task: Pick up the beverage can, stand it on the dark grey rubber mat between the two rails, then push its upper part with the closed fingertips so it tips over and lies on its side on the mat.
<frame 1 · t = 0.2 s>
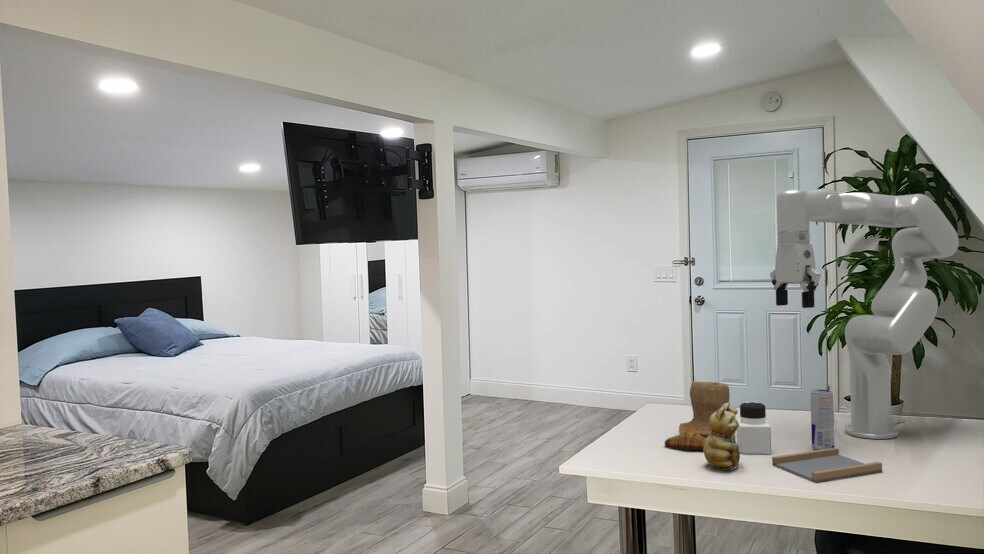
hand: (794, 306, 183), 36 cm above the table, tool pointing down, fingers open, 9 cm apart
beverage can: (823, 450, 178), on the table
croissant: (691, 450, 185), on the table
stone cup: (705, 435, 197), on the table
rail mat: (825, 468, 164), on the table
medicine bottle: (753, 451, 181), on the table
decorative figurine: (721, 467, 169), on the table
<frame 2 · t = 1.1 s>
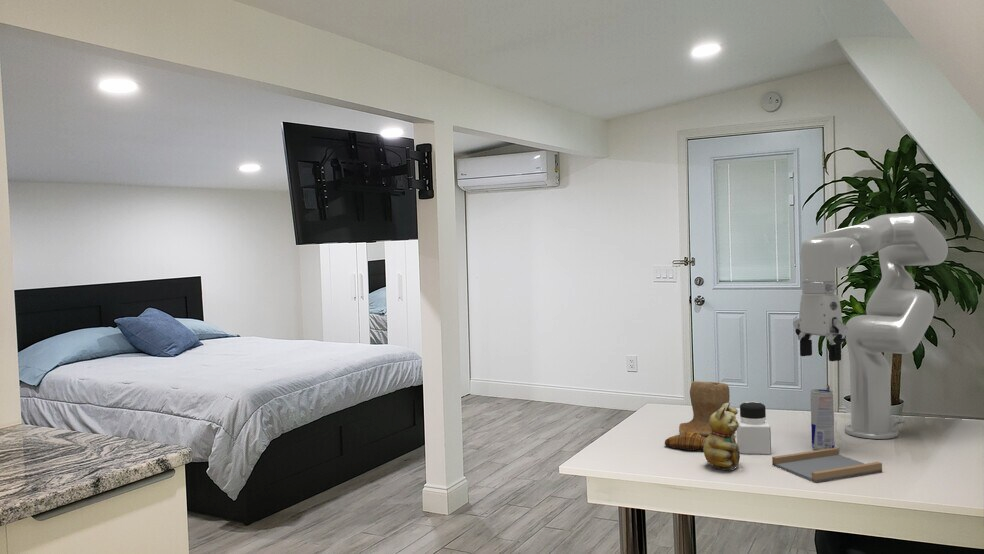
hand: (820, 358, 178), 23 cm above the table, tool pointing down, fingers open, 9 cm apart
nothing on the table moved.
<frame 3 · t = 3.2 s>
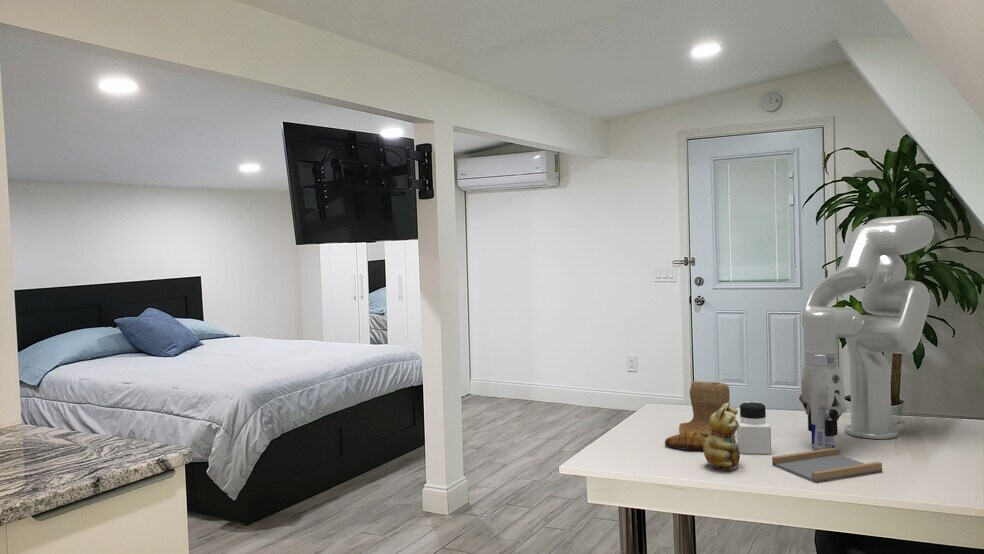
hand: (822, 432, 178), 4 cm above the table, tool pointing down, fingers closed on beverage can, 5 cm apart
beverage can: (823, 450, 178), on the table, touching gripper
everything else where it was.
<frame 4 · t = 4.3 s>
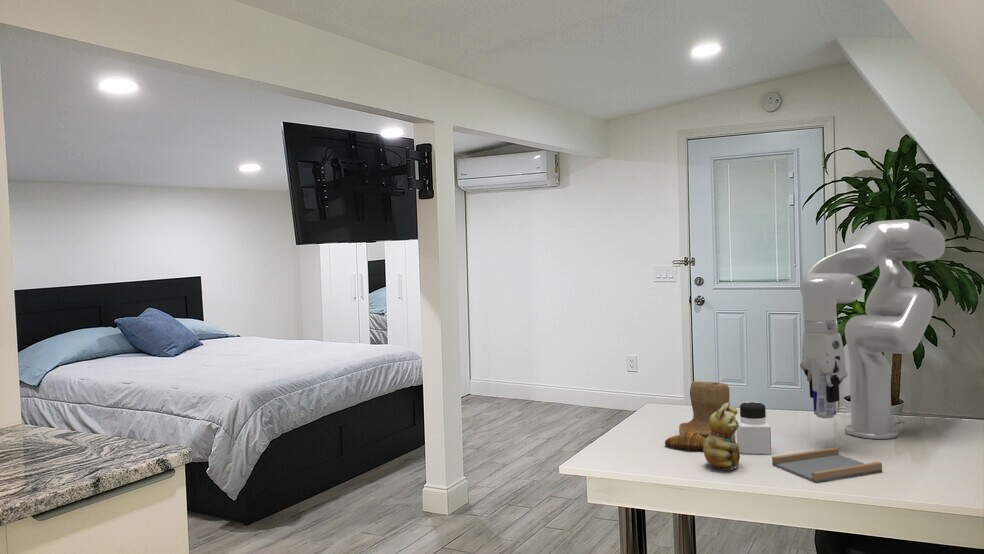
hand: (824, 398, 179), 13 cm above the table, tool pointing down, fingers closed on beverage can, 5 cm apart
beverage can: (825, 417, 179), point 8 cm above the table, touching gripper
everything else where it was.
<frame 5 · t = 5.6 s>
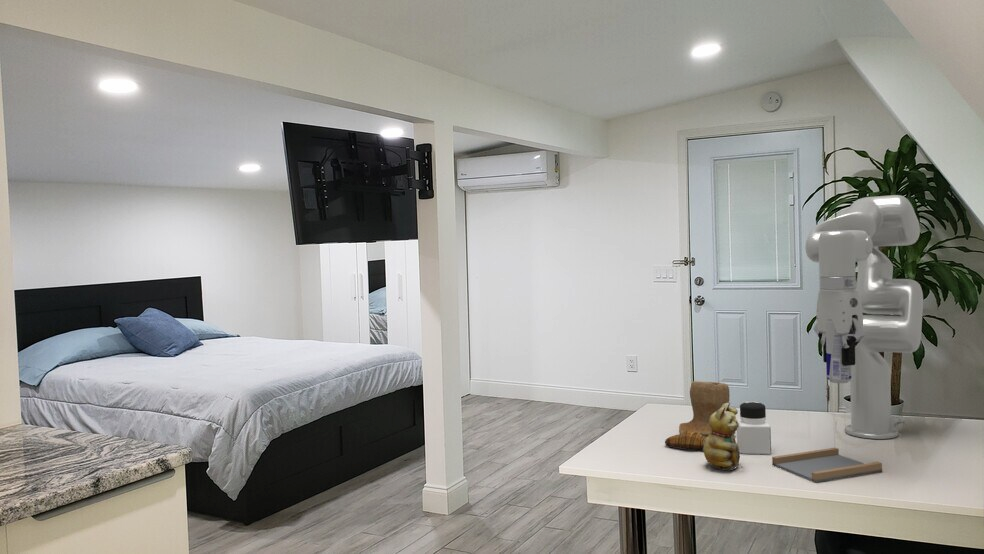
hand: (839, 362, 165), 24 cm above the table, tool pointing down, fingers closed on beverage can, 5 cm apart
beverage can: (839, 382, 165), point 19 cm above the table, touching gripper
everything else where it was.
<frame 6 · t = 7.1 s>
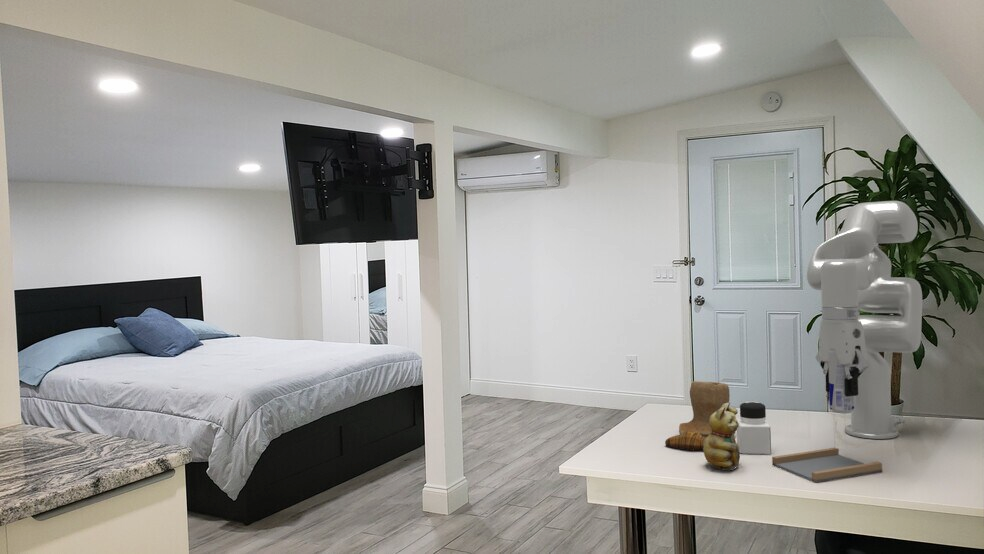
hand: (841, 392, 165), 17 cm above the table, tool pointing down, fingers closed on beverage can, 5 cm apart
beverage can: (841, 412, 165), point 12 cm above the table, touching gripper
everything else where it was.
when the fingers open (6 cm above the table, at t = 9.4 s): beverage can stays where it is, resting on rail mat.
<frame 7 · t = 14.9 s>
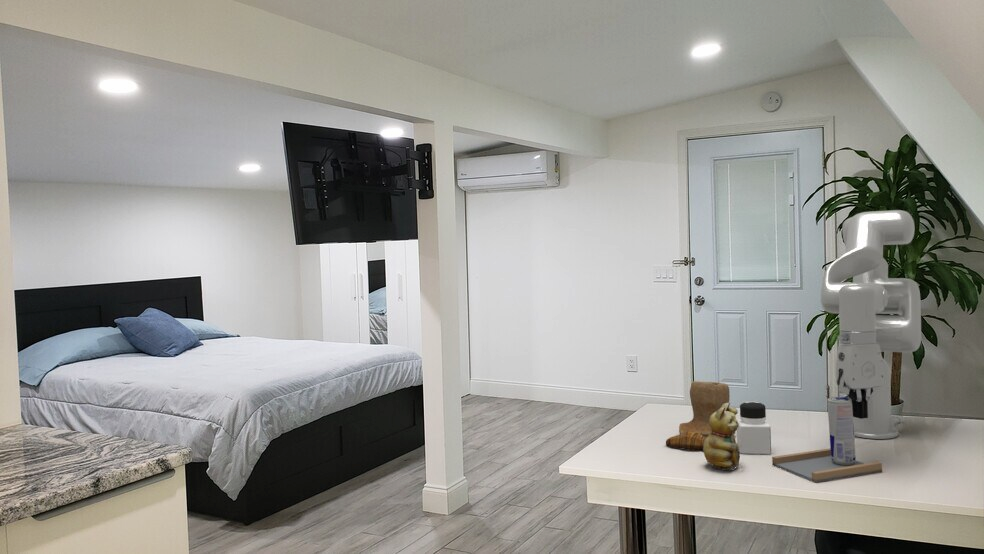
hand: (859, 417, 166), 11 cm above the table, tool pointing down, fingers closed
beverage can: (843, 463, 166), point 1 cm above the table, touching rail mat
everything else where it was.
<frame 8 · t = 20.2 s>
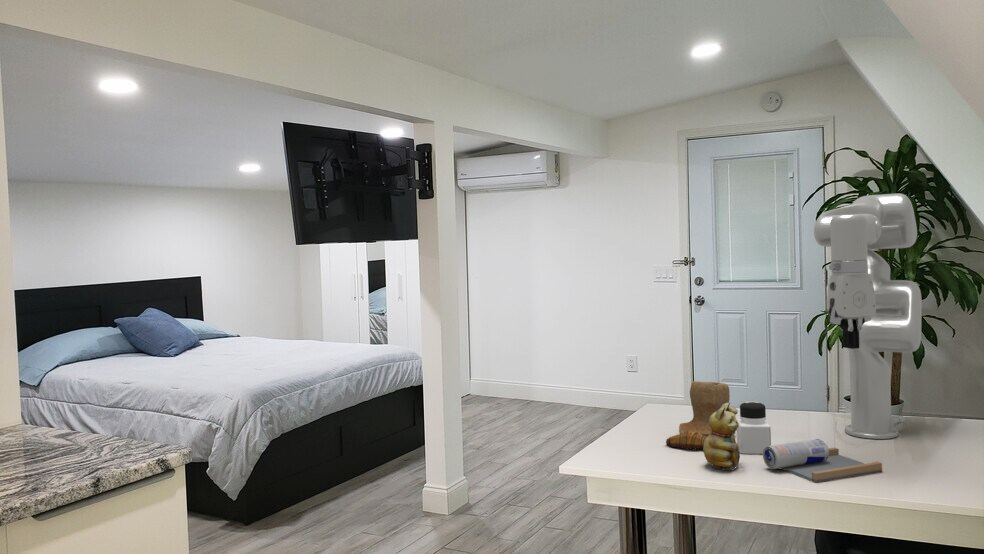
hand: (851, 347, 165), 27 cm above the table, tool pointing down, fingers closed
beverage can: (823, 449, 168), point 3 cm above the table, touching rail mat
everything else where it was.
at the end: beverage can tilted 90°; beverage can inside the target area (7.1 cm from its centre), point 3.1 cm above the table; the gripper is holding nothing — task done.
